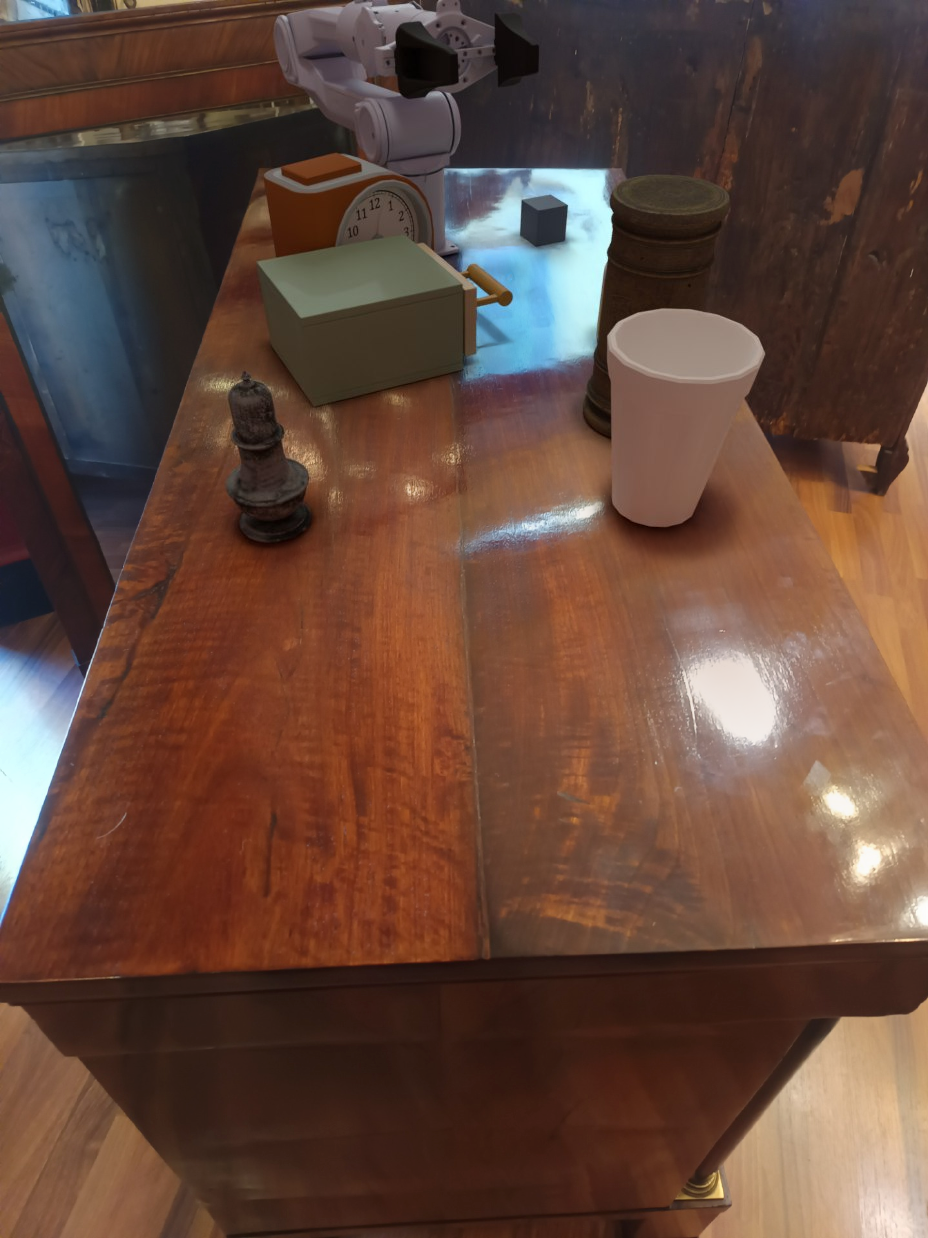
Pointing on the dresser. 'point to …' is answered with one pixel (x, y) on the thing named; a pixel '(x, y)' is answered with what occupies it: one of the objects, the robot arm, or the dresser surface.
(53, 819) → the dresser surface
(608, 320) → the container
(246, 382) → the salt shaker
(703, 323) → the cup
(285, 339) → the cabinet
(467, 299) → the drawer
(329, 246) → the alarm clock
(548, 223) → the block
